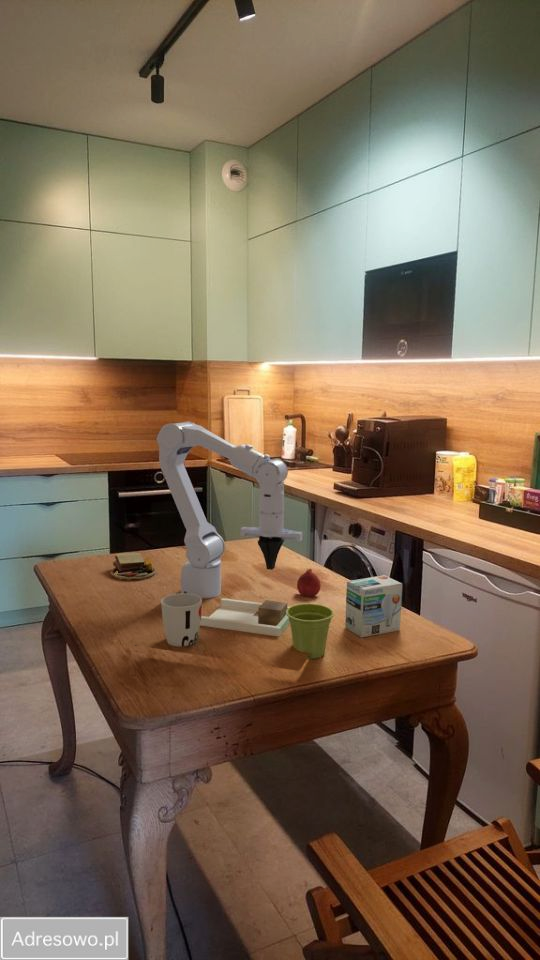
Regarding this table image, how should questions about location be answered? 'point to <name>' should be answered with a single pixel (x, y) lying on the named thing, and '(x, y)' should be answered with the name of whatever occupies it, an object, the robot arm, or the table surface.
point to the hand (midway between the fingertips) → (270, 568)
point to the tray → (242, 618)
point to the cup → (181, 618)
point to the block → (271, 612)
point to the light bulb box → (373, 605)
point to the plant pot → (310, 628)
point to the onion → (308, 584)
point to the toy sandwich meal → (132, 566)
